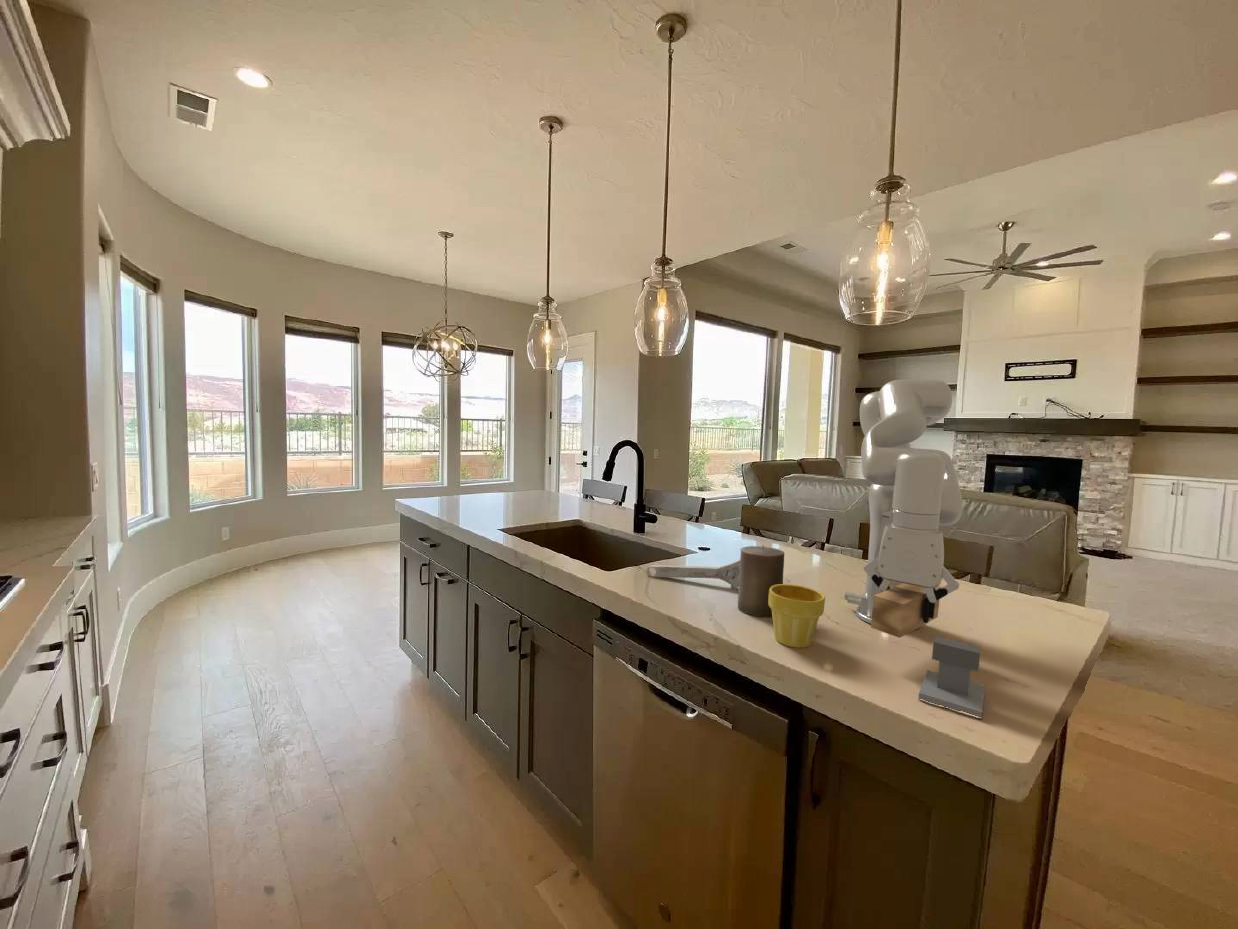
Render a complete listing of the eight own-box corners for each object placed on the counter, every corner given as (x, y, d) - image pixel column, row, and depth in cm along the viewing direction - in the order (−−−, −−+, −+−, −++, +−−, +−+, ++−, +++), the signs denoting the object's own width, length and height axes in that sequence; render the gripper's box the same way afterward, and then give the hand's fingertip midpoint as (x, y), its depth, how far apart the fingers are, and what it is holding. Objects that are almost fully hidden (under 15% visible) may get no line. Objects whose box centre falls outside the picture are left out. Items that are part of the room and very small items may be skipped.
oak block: (870, 627, 92) (873, 595, 92) (910, 608, 102) (912, 579, 101) (899, 637, 88) (903, 604, 88) (937, 617, 98) (940, 586, 98)
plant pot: (833, 646, 98) (837, 596, 98) (795, 656, 93) (799, 604, 92) (791, 626, 107) (794, 581, 106) (754, 635, 102) (757, 587, 101)
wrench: (649, 584, 141) (761, 589, 130) (647, 586, 140) (760, 591, 128) (647, 556, 141) (759, 558, 130) (645, 557, 139) (758, 559, 128)
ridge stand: (918, 700, 79) (923, 647, 79) (926, 676, 87) (931, 628, 87) (981, 720, 75) (986, 663, 74) (984, 693, 82) (989, 642, 82)
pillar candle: (786, 618, 112) (791, 550, 111) (741, 616, 112) (745, 548, 111) (774, 603, 122) (778, 541, 121) (733, 601, 122) (737, 539, 121)
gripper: (858, 516, 95) (851, 609, 97) (970, 532, 85) (959, 636, 87) (867, 510, 101) (860, 598, 103) (973, 524, 91) (963, 622, 93)
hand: (905, 615), depth 95 cm, fingers closed on oak block, 6 cm apart
